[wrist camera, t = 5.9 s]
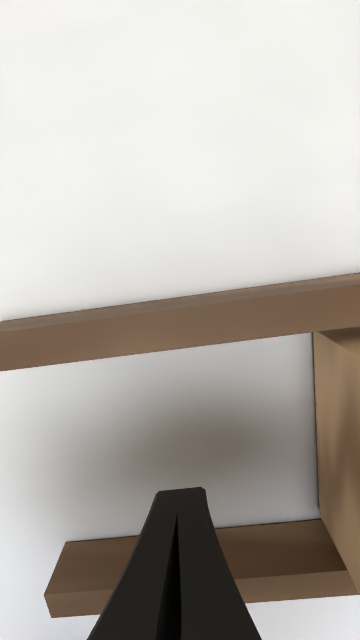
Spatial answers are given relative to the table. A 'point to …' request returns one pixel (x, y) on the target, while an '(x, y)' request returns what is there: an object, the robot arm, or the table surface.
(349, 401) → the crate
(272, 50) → the table surface
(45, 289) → the table surface
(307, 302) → the bay
